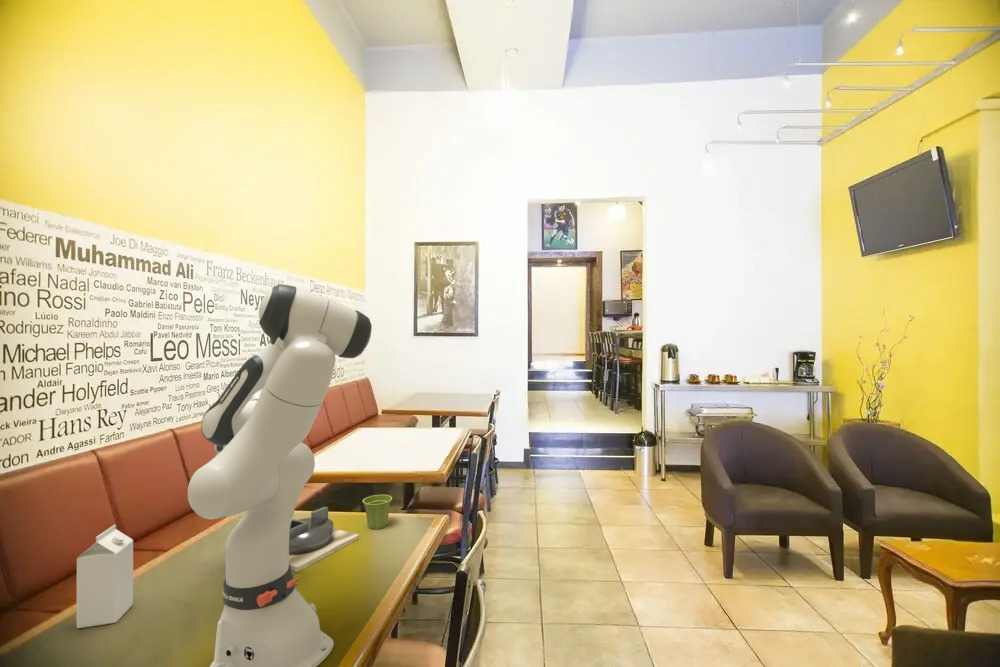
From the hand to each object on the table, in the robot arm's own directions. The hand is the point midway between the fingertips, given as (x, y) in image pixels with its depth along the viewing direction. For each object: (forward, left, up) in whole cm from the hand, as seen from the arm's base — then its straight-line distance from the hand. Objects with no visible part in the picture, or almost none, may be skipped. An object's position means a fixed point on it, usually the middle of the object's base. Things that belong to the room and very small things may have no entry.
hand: (245, 497), depth 118 cm
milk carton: (+9, +26, -20) cm, 34 cm away
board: (-2, -17, -19) cm, 26 cm away
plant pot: (-11, -38, -20) cm, 44 cm away
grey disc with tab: (-2, -17, -18) cm, 25 cm away
